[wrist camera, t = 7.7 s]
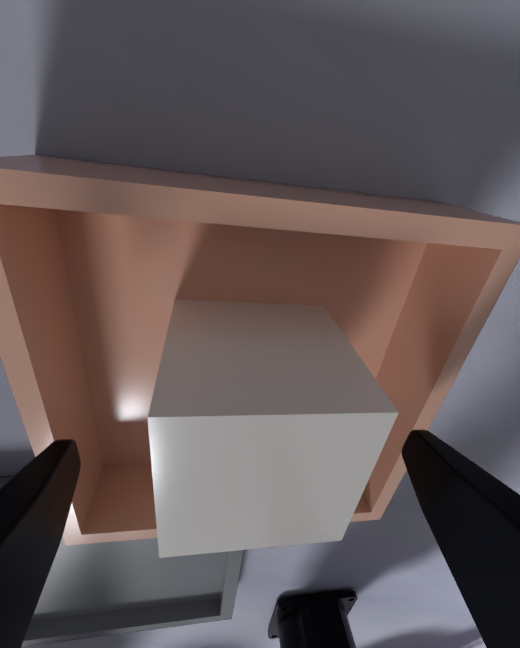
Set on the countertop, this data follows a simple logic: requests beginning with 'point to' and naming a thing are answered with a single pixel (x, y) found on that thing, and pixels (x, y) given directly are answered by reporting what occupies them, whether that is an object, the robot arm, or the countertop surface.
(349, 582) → the countertop surface
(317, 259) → the orange square tray
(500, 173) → the countertop surface
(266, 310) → the white cube
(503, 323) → the countertop surface
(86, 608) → the parts tray
